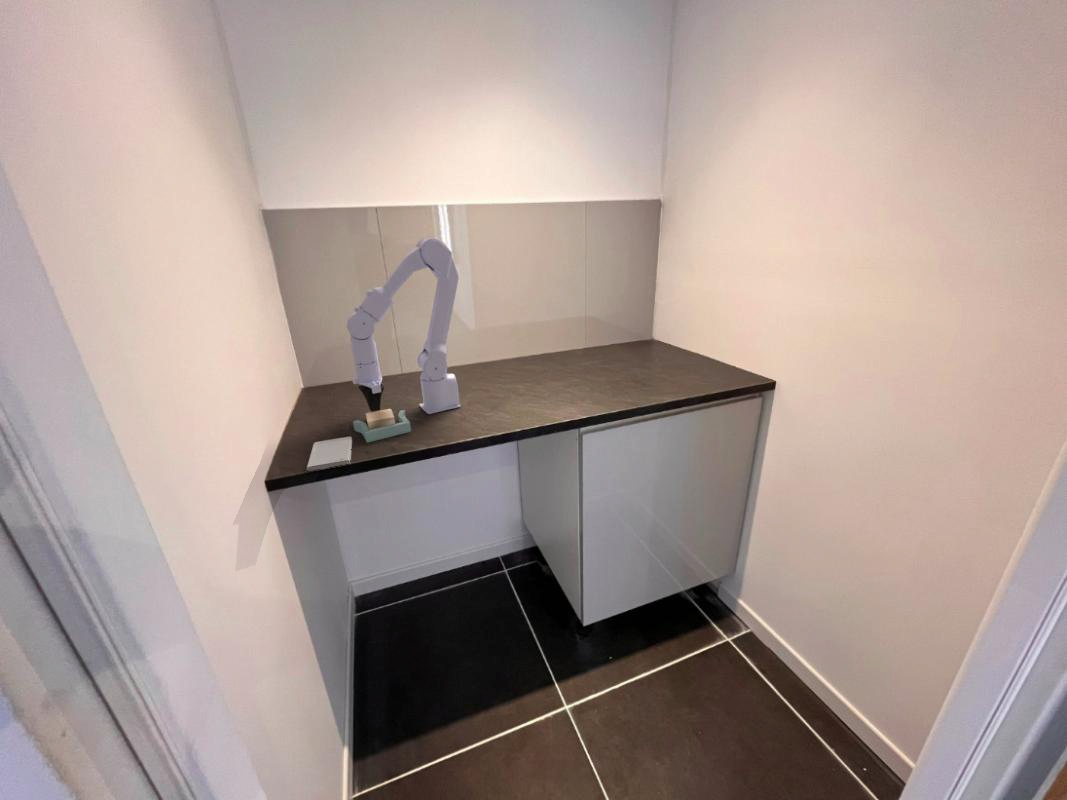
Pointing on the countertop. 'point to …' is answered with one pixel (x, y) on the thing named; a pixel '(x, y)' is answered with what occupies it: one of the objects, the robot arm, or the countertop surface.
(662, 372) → the countertop surface
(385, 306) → the robot arm
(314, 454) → the hard drive
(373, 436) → the dock
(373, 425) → the birch block
